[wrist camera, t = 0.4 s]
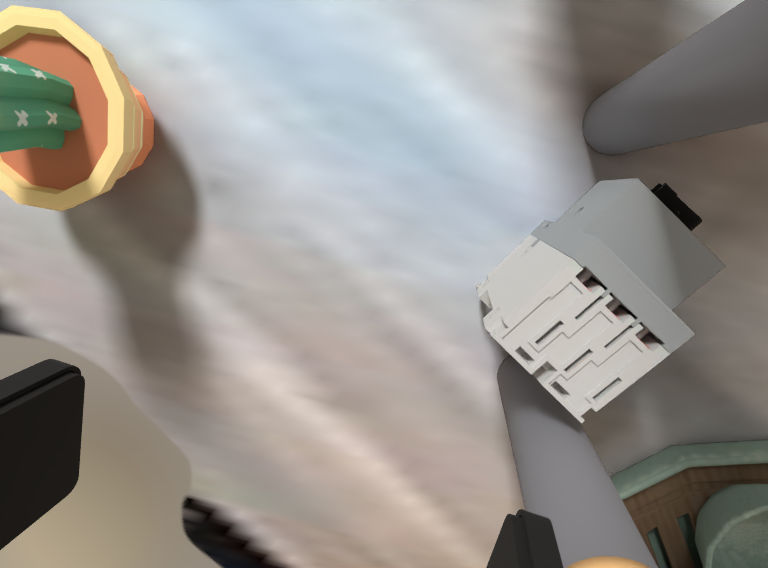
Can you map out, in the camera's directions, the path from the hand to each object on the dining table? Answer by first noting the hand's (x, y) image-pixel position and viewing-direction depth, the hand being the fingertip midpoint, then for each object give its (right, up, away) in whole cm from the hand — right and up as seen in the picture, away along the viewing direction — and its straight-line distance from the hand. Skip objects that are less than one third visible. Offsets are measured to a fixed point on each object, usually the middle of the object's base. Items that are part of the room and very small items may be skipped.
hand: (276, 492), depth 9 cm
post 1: (+15, -4, +32) cm, 36 cm away
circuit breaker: (+18, +7, +30) cm, 36 cm away
